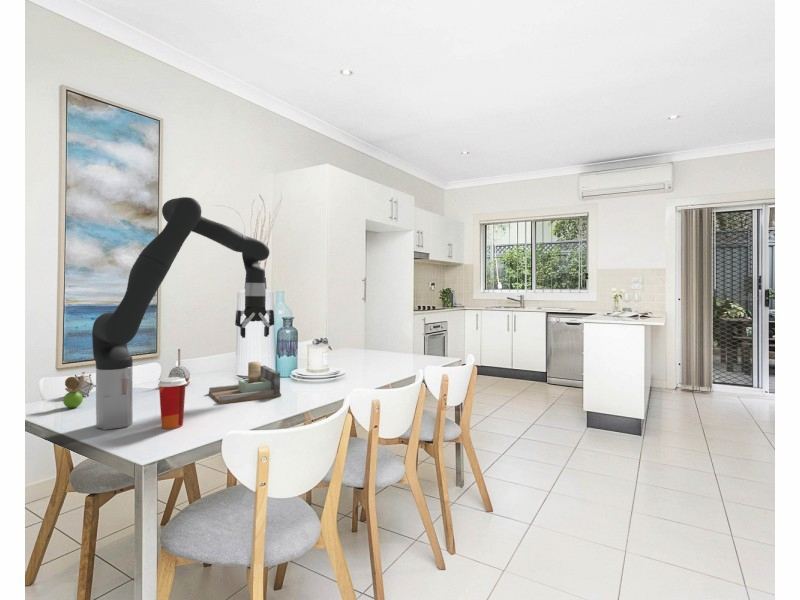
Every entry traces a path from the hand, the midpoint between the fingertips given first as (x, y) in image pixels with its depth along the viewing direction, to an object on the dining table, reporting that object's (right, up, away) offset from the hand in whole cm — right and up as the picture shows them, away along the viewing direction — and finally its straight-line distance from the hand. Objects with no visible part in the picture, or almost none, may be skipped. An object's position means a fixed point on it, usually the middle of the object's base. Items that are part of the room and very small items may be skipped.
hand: (254, 337), depth 177 cm
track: (-3, -22, -1) cm, 22 cm away
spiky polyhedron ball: (-61, -21, -7) cm, 65 cm away
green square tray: (0, -21, +1) cm, 21 cm away
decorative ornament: (-35, -21, +13) cm, 43 cm away
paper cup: (-12, -23, -40) cm, 48 cm away
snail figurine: (-53, -22, -22) cm, 62 cm away
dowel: (0, -20, +1) cm, 20 cm away
